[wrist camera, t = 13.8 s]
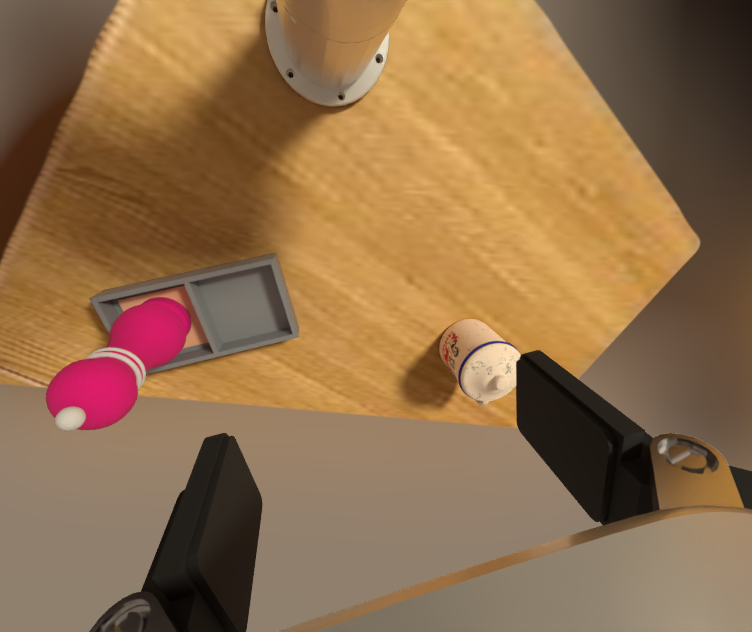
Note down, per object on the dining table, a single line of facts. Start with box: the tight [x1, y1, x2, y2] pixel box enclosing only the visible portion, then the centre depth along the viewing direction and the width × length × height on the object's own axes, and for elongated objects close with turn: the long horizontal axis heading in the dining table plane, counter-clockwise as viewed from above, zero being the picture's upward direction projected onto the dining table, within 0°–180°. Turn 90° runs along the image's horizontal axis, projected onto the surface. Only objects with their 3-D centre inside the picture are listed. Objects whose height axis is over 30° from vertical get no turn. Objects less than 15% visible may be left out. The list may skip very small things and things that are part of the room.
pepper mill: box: [46, 297, 192, 431], centre depth 34 cm, size 7×7×20 cm
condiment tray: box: [90, 253, 299, 374], centre depth 44 cm, size 11×21×3 cm, turn 100°
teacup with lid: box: [439, 319, 521, 405], centre depth 50 cm, size 12×9×12 cm
